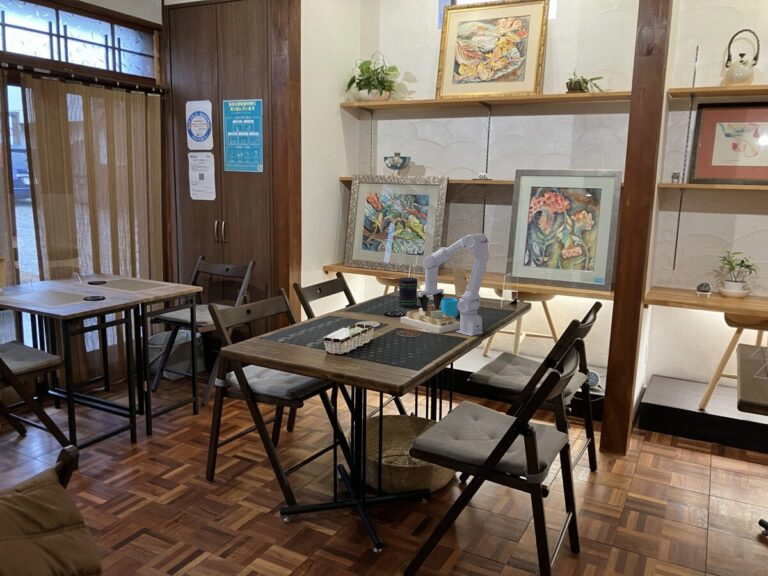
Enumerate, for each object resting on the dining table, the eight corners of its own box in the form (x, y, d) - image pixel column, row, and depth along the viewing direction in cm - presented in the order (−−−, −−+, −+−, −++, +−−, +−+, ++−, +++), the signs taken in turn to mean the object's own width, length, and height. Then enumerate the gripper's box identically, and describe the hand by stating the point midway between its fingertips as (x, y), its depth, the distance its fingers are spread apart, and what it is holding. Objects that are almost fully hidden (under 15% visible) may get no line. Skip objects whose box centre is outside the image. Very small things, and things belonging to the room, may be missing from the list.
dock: (464, 327, 285) (464, 322, 284) (439, 333, 275) (439, 327, 274) (425, 317, 304) (425, 312, 304) (400, 322, 294) (400, 316, 294)
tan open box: (455, 323, 283) (455, 308, 282) (439, 326, 277) (439, 310, 276) (422, 314, 300) (422, 300, 299) (406, 317, 293) (406, 302, 292)
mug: (452, 318, 304) (453, 301, 303) (438, 316, 309) (438, 299, 307) (463, 313, 314) (464, 298, 313) (449, 311, 319) (449, 296, 317)
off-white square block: (431, 314, 290) (431, 308, 290) (424, 316, 288) (425, 309, 287) (425, 313, 293) (425, 307, 293) (419, 314, 291) (419, 308, 290)
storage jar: (394, 306, 331) (394, 278, 328) (407, 304, 337) (408, 276, 334) (407, 309, 323) (408, 281, 321) (421, 307, 330) (421, 279, 327)
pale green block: (442, 317, 285) (442, 311, 284) (436, 318, 282) (436, 312, 282) (436, 316, 288) (436, 309, 287) (430, 317, 285) (430, 311, 285)
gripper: (436, 278, 293) (435, 306, 295) (413, 281, 284) (413, 310, 286) (447, 280, 287) (446, 309, 290) (424, 283, 278) (423, 313, 281)
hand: (430, 310), depth 288 cm, fingers open, 7 cm apart
